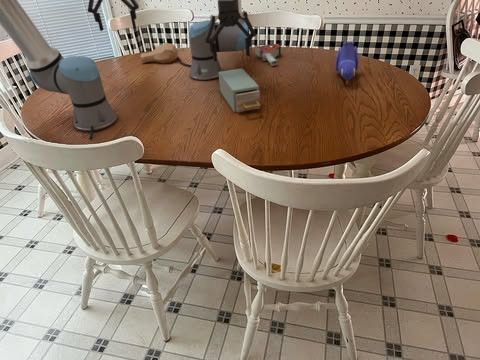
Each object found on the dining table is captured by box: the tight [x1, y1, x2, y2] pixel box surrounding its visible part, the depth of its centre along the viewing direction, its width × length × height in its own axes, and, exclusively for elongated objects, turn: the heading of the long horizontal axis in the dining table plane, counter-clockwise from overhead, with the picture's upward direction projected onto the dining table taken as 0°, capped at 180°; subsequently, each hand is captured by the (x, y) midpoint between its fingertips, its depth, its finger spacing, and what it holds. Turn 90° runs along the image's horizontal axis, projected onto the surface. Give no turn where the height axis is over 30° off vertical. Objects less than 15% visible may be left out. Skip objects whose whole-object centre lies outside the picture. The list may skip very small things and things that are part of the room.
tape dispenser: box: [254, 43, 282, 67], centre depth 181 cm, size 18×5×20 cm
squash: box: [140, 42, 179, 64], centre depth 186 cm, size 11×20×9 cm, turn 92°
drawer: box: [236, 89, 262, 113], centre depth 137 cm, size 25×9×7 cm, turn 17°
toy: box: [334, 40, 360, 86], centre depth 151 cm, size 10×17×25 cm
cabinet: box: [218, 67, 260, 113], centre depth 141 cm, size 21×10×9 cm, turn 17°
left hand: (118, 29), depth 149 cm, fingers open, 13 cm apart
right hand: (231, 58), depth 141 cm, fingers open, 13 cm apart
